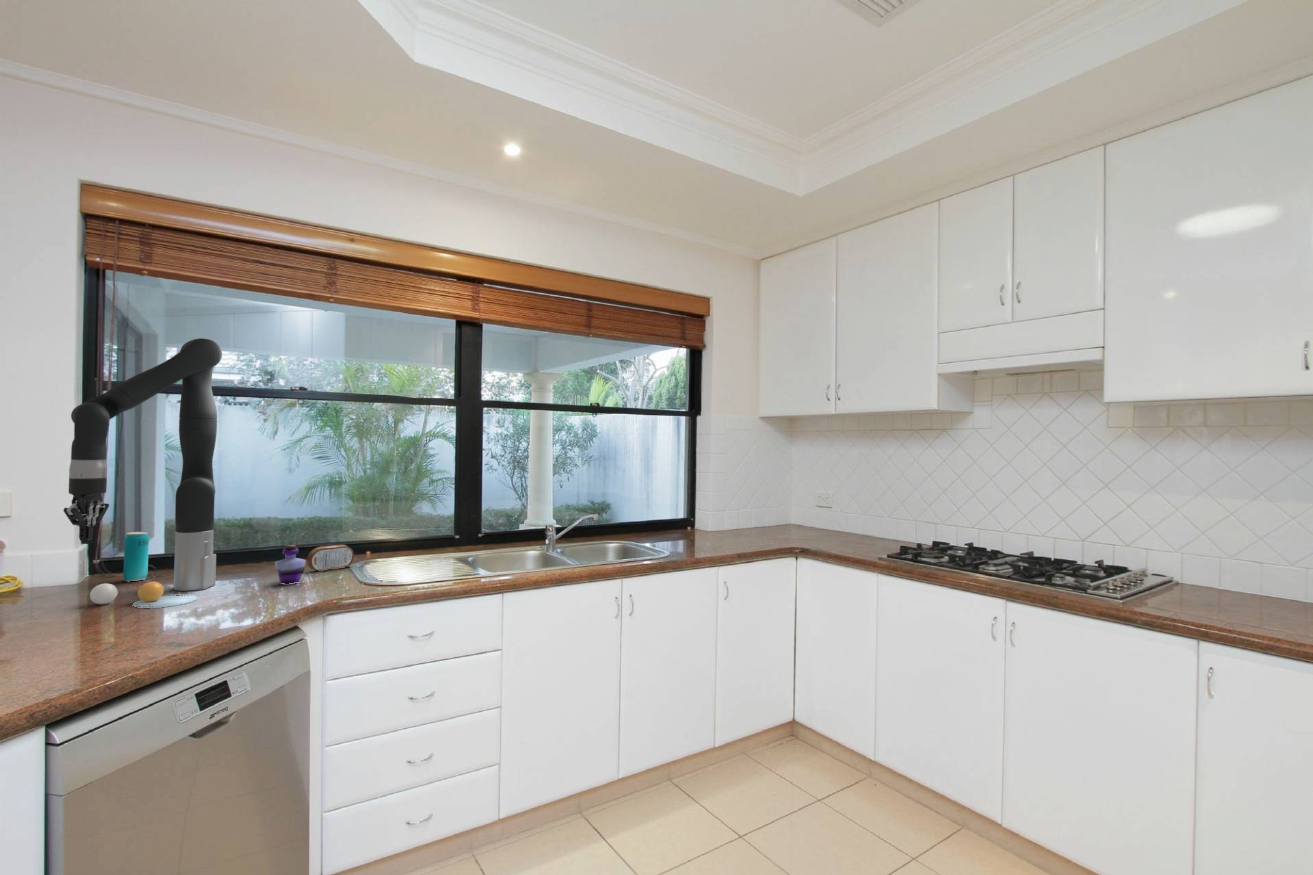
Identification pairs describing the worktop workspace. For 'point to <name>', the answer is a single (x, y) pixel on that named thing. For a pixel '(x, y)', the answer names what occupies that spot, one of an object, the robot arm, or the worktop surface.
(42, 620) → the worktop surface
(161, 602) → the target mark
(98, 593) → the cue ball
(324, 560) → the tin
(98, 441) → the robot arm
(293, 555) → the potion bottle
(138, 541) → the beverage can
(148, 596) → the orange ball
